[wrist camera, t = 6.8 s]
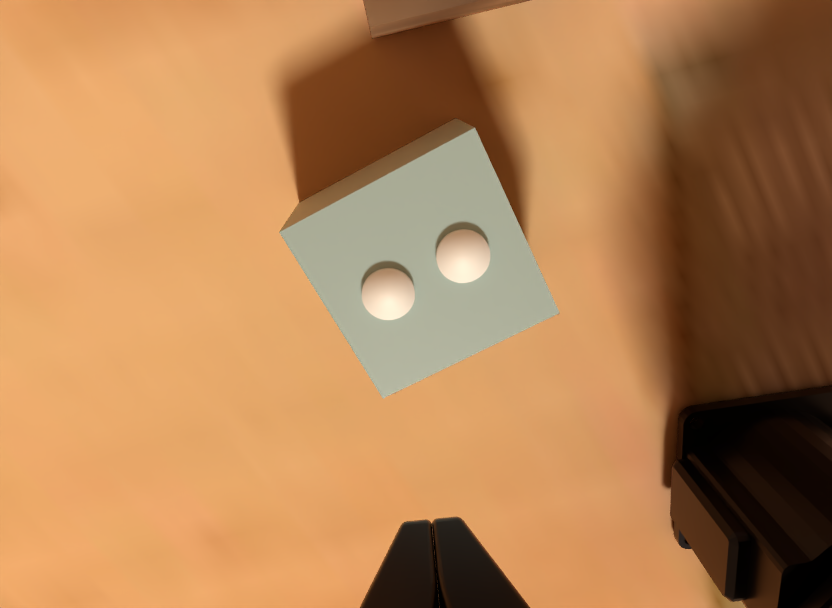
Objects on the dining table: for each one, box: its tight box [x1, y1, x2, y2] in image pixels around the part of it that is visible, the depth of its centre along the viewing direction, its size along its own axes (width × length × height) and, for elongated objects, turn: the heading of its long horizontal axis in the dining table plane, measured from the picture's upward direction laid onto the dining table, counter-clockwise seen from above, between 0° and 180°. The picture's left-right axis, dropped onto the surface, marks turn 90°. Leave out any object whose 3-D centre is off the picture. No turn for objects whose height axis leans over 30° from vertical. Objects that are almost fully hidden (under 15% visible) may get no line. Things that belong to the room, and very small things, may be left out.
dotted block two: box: [279, 118, 559, 398], centre depth 17 cm, size 6×6×4 cm
